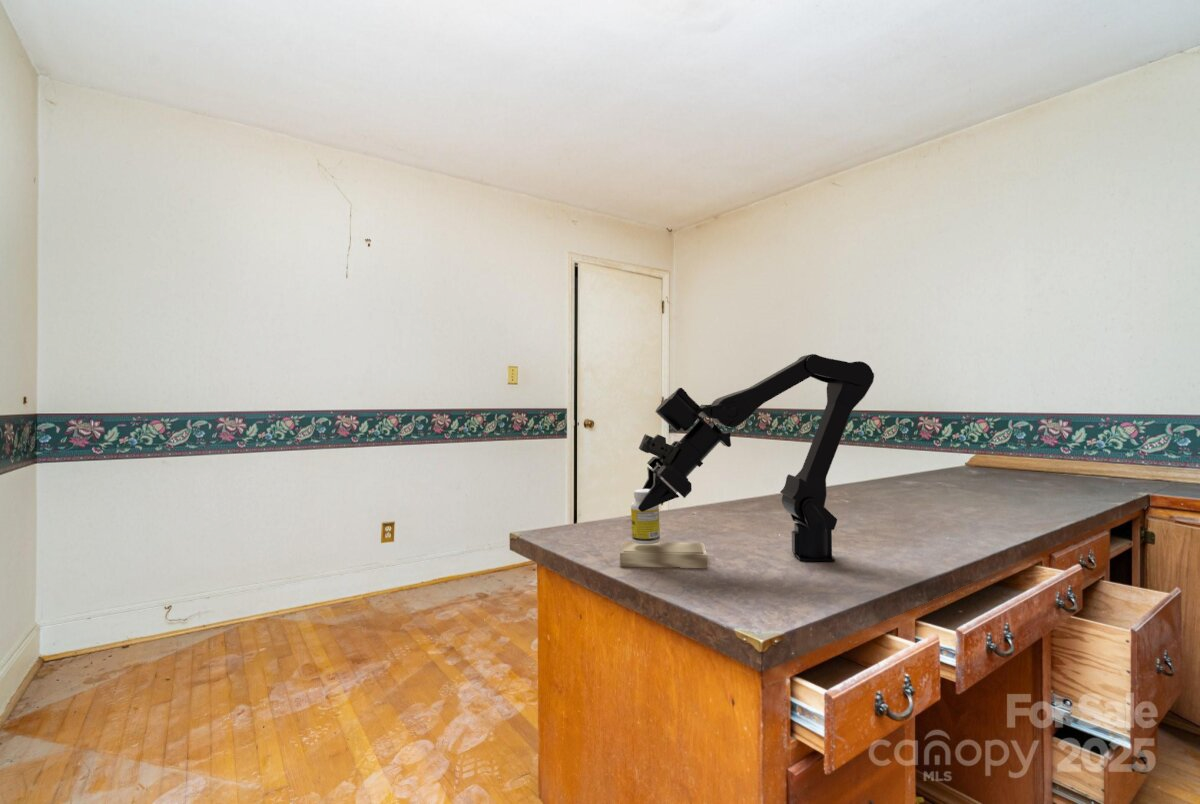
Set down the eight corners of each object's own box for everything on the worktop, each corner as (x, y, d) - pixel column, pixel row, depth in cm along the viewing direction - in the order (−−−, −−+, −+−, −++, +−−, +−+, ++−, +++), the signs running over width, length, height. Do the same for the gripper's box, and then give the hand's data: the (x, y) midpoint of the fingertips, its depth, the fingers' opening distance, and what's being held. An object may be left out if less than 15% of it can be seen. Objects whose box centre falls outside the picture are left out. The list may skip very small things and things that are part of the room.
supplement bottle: (634, 537, 107) (632, 488, 107) (661, 538, 106) (660, 488, 106) (629, 544, 102) (628, 492, 102) (658, 545, 101) (657, 493, 101)
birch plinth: (703, 555, 107) (703, 542, 107) (707, 568, 99) (706, 553, 99) (623, 554, 109) (623, 540, 109) (620, 566, 101) (620, 552, 101)
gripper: (656, 417, 114) (605, 472, 113) (671, 421, 95) (610, 486, 95) (694, 454, 114) (643, 508, 114) (717, 464, 95) (656, 529, 95)
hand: (638, 507), depth 104 cm, fingers closed on supplement bottle, 5 cm apart
